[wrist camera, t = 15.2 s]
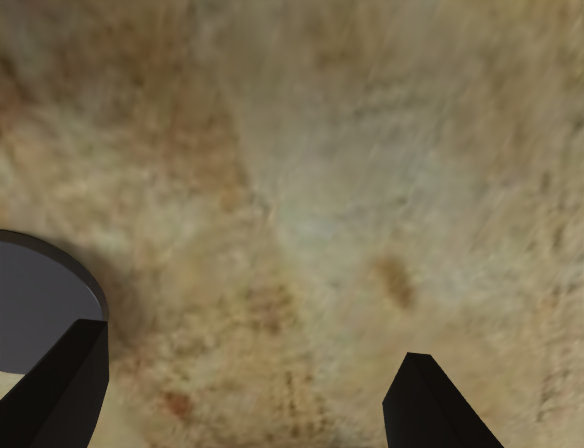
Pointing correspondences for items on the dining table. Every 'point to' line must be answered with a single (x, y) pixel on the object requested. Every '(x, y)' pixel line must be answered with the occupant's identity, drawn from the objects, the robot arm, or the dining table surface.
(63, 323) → the slate coaster
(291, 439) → the dining table surface
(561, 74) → the dining table surface
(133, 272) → the dining table surface
